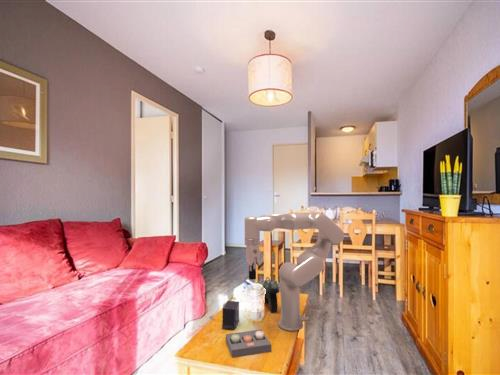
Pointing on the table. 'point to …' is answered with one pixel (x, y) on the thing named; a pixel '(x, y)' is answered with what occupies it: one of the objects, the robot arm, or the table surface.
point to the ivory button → (259, 335)
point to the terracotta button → (247, 338)
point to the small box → (230, 315)
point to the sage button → (235, 338)
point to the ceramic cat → (271, 293)
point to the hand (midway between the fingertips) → (252, 279)
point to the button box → (248, 344)
